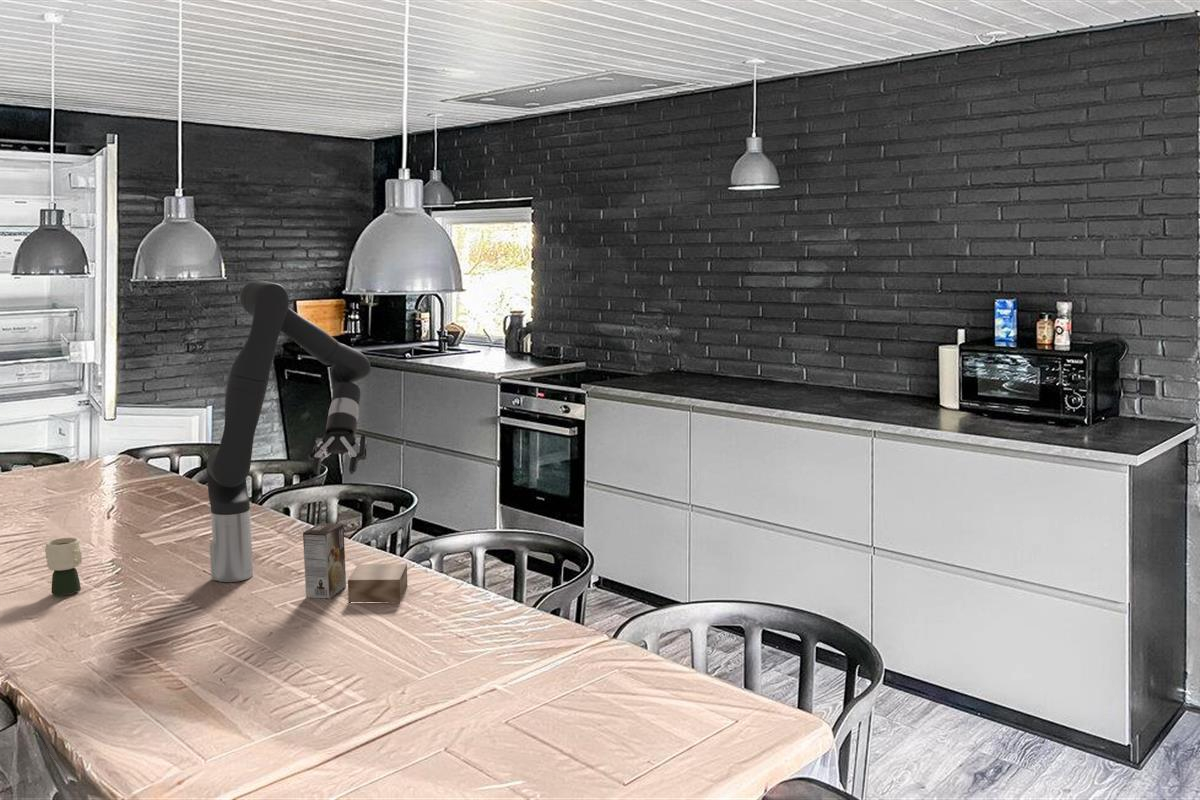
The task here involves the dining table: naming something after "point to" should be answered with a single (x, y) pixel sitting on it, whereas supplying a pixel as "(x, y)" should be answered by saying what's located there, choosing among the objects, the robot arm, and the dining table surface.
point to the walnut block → (377, 583)
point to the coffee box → (324, 560)
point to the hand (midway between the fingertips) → (334, 472)
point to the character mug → (64, 564)
